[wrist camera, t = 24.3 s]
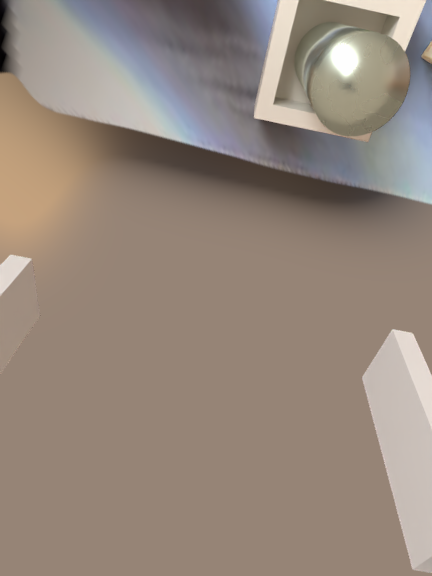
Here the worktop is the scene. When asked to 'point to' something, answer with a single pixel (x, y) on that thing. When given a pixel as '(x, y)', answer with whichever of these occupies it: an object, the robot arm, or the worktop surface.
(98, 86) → the worktop surface
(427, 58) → the coffeecake box
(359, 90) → the canister
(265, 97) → the well
